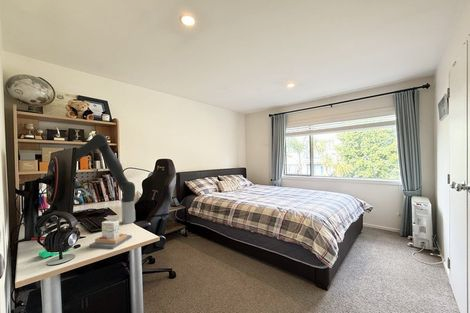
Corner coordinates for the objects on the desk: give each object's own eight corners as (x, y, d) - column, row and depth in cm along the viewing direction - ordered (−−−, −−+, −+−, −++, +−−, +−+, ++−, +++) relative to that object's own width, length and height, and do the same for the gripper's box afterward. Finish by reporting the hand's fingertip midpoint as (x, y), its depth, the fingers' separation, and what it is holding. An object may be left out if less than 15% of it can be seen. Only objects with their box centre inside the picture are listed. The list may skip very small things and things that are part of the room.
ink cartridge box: (101, 241, 125) (100, 217, 125) (107, 238, 130) (107, 215, 130) (114, 241, 124) (113, 217, 124) (119, 238, 129) (119, 215, 129)
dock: (110, 236, 137) (110, 231, 137) (131, 237, 134) (131, 232, 134) (89, 247, 121) (89, 241, 121) (113, 248, 118) (113, 242, 118)
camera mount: (64, 247, 122) (64, 230, 121) (70, 250, 118) (70, 232, 118) (38, 256, 111) (37, 238, 111) (43, 260, 107) (43, 240, 107)
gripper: (65, 182, 130) (81, 200, 129) (85, 179, 144) (100, 195, 143) (58, 190, 131) (75, 208, 129) (79, 186, 145) (93, 202, 144)
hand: (88, 201), depth 136 cm, fingers open, 8 cm apart
